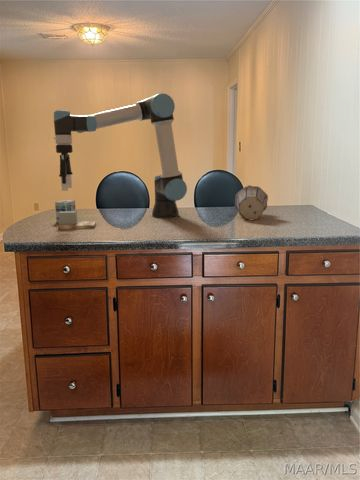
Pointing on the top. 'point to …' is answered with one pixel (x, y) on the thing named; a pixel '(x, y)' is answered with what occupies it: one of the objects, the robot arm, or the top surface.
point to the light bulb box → (64, 207)
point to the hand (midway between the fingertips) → (67, 189)
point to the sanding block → (67, 217)
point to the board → (79, 225)
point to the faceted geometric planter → (251, 202)
